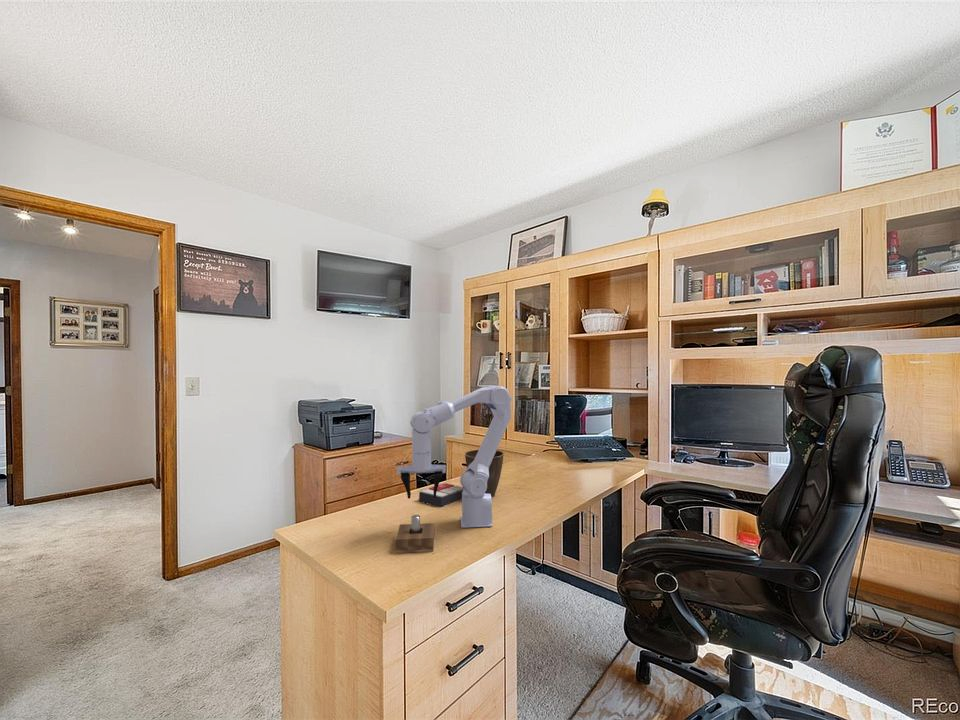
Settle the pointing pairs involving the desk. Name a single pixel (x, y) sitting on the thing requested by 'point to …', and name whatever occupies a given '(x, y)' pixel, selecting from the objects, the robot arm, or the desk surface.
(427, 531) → the bore block
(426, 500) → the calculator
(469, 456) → the plant pot
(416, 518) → the pin
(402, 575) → the desk surface
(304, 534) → the desk surface
